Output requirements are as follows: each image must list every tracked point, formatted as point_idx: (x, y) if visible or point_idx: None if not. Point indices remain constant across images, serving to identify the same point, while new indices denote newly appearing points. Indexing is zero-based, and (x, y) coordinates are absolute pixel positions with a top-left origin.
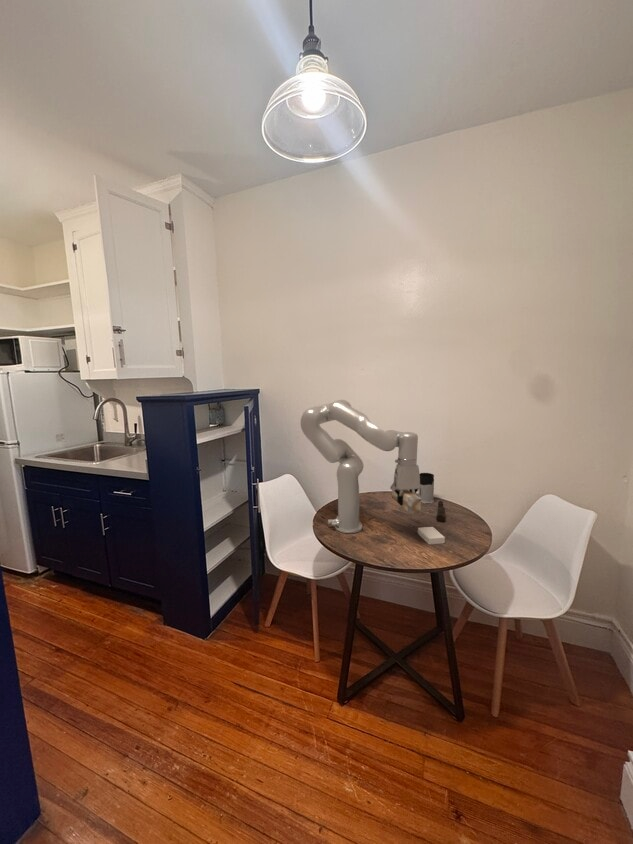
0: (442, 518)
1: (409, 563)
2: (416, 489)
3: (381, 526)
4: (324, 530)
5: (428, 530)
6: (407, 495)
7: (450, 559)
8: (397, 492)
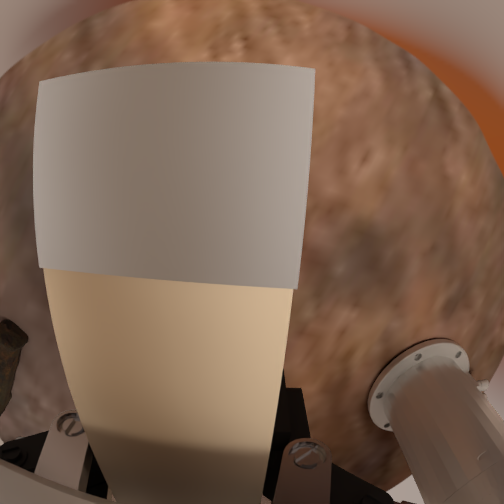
0: (3, 329)
1: (341, 30)
2: (11, 461)
3: (287, 375)
4: (489, 371)
5: None
6: (253, 377)
7: (140, 14)
8: (354, 491)
